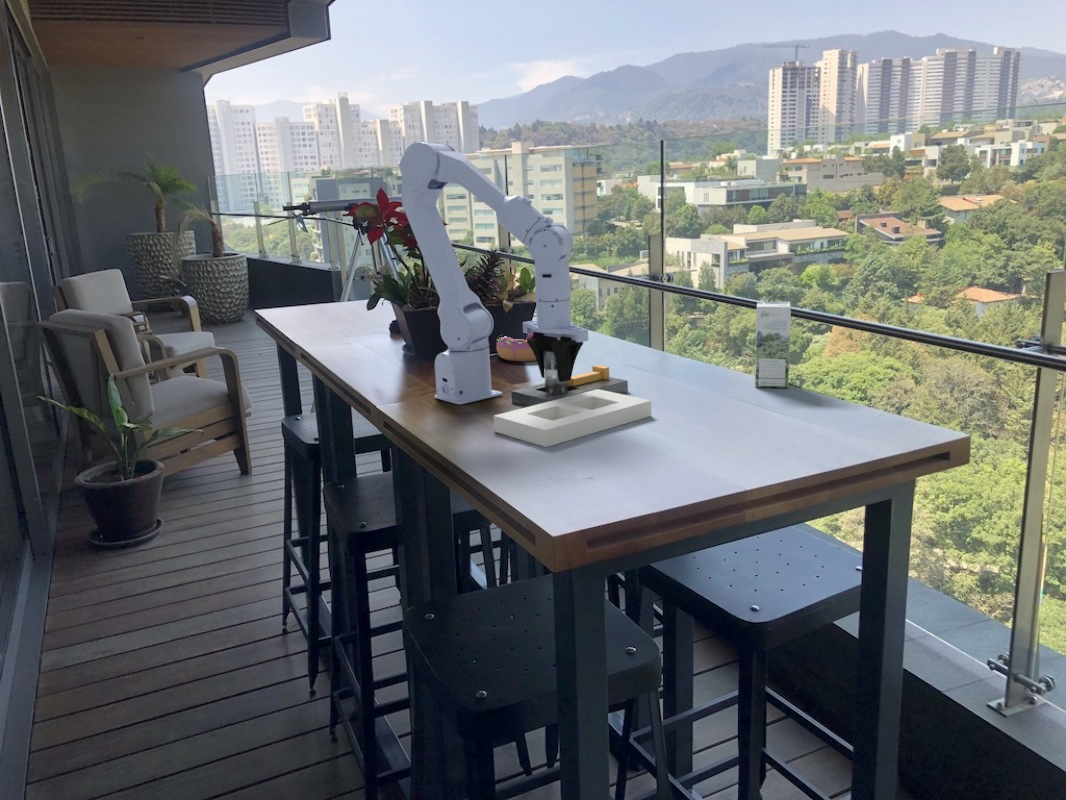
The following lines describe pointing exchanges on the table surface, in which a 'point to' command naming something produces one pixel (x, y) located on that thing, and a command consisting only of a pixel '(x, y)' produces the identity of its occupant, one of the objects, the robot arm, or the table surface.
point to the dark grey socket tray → (538, 394)
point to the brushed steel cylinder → (552, 374)
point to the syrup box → (772, 344)
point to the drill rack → (571, 417)
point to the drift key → (590, 376)
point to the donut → (515, 349)
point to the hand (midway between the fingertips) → (556, 378)
